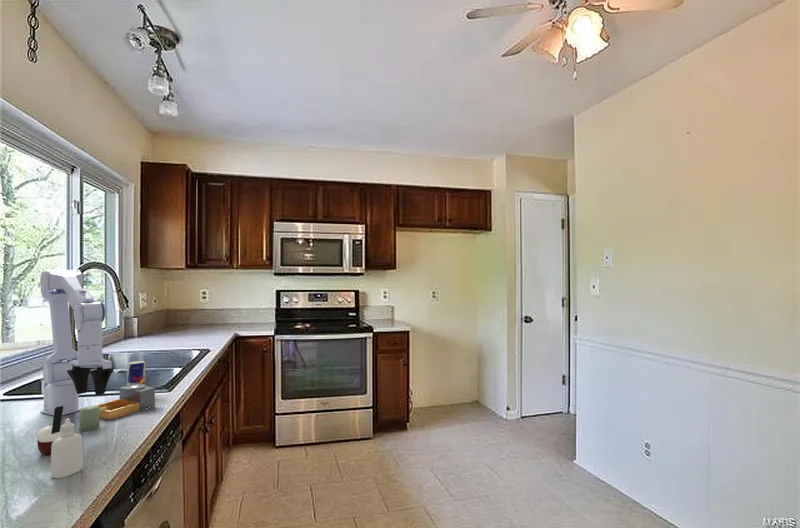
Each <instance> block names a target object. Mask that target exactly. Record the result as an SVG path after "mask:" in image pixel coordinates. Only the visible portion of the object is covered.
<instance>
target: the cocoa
mask: <svg viewBox="0 0 800 528" xmlns="http://www.w3.org/2000/svg"><path fill="white" fill-rule="evenodd" d="M62 414H63V406H60V407H56V408H55V410H54V416H53V419H52V425H48V426H44V427H42V428H41V429H39V430H38V432H37V435H36V439H37V441H36V443H37V448H38V452H39V453H40V454H42V455H45V456H51V447H52V443H53V442H54V441H55V440H56V439H57V438H59V437H60V436H61V426H62V420H63V415H62Z"/></svg>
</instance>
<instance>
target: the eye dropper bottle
mask: <svg viewBox="0 0 800 528" xmlns="http://www.w3.org/2000/svg"><path fill="white" fill-rule="evenodd" d="M70 419H71V418H66V419H65V421H64V424H61V436H60V437H59V438H57V439H56V440H55V441H54V442H53V443H52V447H51V455H50V457H51V460H50V476H51V478H53V479H58V480H59V479H62V478H66V477H69V476H71V475H74V474H76V473H78V472H80V471H81V470H82V469H83V460H84V459H83V456H84V455H83V454H84V453H83V452H84V451H83V450H84V449H83V448H84V446H83V444H84V441H83V436H82V434H79V433H75V423H72V422H71V420H70Z"/></svg>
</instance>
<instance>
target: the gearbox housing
mask: <svg viewBox="0 0 800 528" xmlns="http://www.w3.org/2000/svg"><path fill="white" fill-rule="evenodd" d="M155 389H156V387H152V386H147V385H146V384H145V385H144V384H133V385H129V386H127V385H126V386H122V387H121V386H120V387H119V398H118V399H115V400H114V399H113V400H111V401H110V400H109V401H106V402H103V403H100V404H95V405H94V406H99V407H100V408H103V407H106V410H105V411H101V412H99V419H102V418H103V420H106V419H108V420H107V421H111V420H113V419H114V418H115V419H117V417H118V418H121V417H123V416H128V415H130V413H131V414H134V413H137V412H140V411H139V410H141V411H144V410H143V409H145V410H147V409H146V408H148V409H150V408H149V407H151V408H153V407H152V406H154V407H155V402H156V401H155V400H156V393H155V392H156V390H155ZM118 407H120V408H118ZM114 408H115V409H114ZM110 409H112V410H110ZM136 411H137V412H136ZM133 412H134V413H133ZM127 414H128V415H127ZM110 419H111V420H110ZM115 419H114V420H115Z"/></svg>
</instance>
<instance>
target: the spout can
mask: <svg viewBox="0 0 800 528" xmlns="http://www.w3.org/2000/svg"><path fill="white" fill-rule="evenodd" d="M82 407H83V408H81V409H80V411H79V431H81V432H87V431H88V430H89V431H94V430H97V429H98V428H100V418H99V412H101V411H105V410H106V407H103V408H100V407H99V406H95V405H89V406H82ZM96 428H97V429H96ZM93 429H94V430H93Z"/></svg>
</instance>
